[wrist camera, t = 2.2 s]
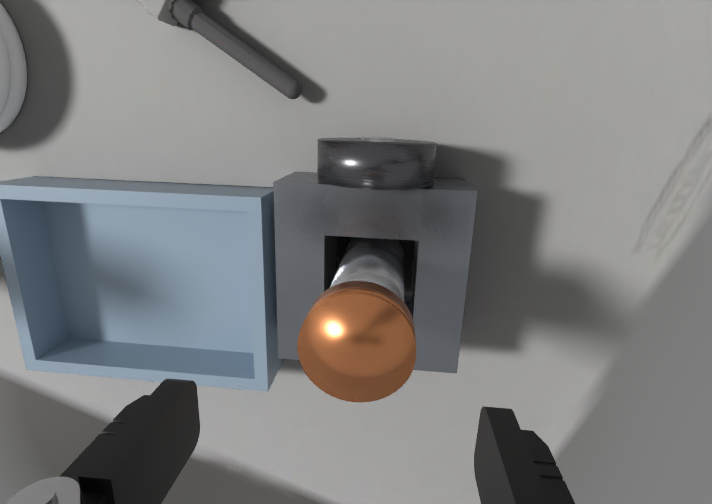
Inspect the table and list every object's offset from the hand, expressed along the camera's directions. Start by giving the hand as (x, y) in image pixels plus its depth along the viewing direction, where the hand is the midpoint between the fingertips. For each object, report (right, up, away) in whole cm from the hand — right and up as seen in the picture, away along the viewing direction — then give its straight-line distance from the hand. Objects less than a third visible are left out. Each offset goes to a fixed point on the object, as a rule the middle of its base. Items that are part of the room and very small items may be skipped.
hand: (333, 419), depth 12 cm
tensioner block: (+2, +6, +14) cm, 15 cm away
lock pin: (+2, +4, +15) cm, 16 cm away
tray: (-12, +3, +16) cm, 21 cm away
